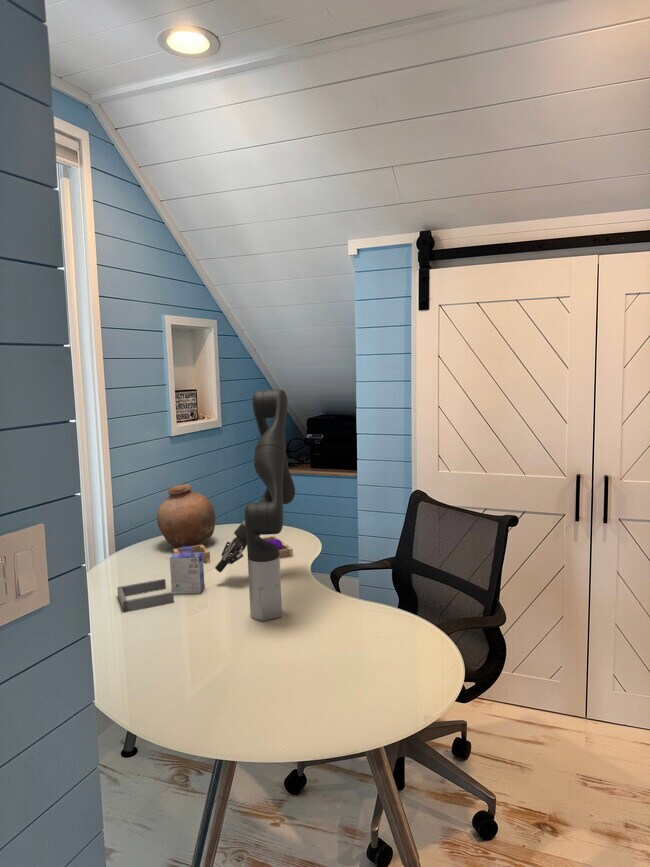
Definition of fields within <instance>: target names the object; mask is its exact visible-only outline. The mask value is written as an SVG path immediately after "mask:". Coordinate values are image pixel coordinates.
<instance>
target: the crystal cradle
mask: <svg viewBox="0 0 650 867" xmlns="http://www.w3.org/2000/svg"><path fill="white" fill-rule="evenodd" d="M261 538H262V539H263V540H270V539H279V538H278V537H276V536H275V535H271V536H265V537H261ZM280 541H281V543H282V549H281V550H279V553H280V559H283V558H284V557H285V558H292V556H293V557H294V555H293V554H294V551H293V550H294V549H293V548H292V547H291V546H289V545H288V544H286V543H285V542H283V541H282V540H280ZM285 558H284V559H285Z"/></svg>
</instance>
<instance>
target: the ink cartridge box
mask: <svg viewBox="0 0 650 867" xmlns="http://www.w3.org/2000/svg"><path fill="white" fill-rule="evenodd" d="M184 549H190V551H183V550H184ZM169 571H170V584H171V585H170V586H171V592H173V594H174V595H175V594H176V595H177V594H179V595H180V594H181V595H182V594H185V595H186V594H202V592H203V591H204V590H205V588H206V587H205V571H204V564H203V553H202V552H199V553H192V546H190V547H182V549H181V553H176V554H174V553H173V554H172V555H171V556H170V557H169Z"/></svg>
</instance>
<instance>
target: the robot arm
mask: <svg viewBox="0 0 650 867" xmlns="http://www.w3.org/2000/svg"><path fill="white" fill-rule="evenodd" d="M288 405H289V404H288V396H287V393H286V391H285V390H284V389H281V388H278V389H277V388H276V389H265V390H257V391H255V392H254V393H253V394H252V410H253V414H254V419H255V421H256V422H255V423H256V424H257V429H258V433H259V435H260V438H259V439H258V440H257V442H256V445H255V448H254V458H253V466H254V470H255V472H256V473H257V475H258V476H259V478H260V479H261V481H262V482H263V484H264V485H265V486H266V488H265V490H264V492H263V494H262V496H261V499H260V500H259V502H248V503H247V504H246V506H245V508H244V520H243V521H242V522H241V524H239V526H238V527H237V528H236V529H235V530H234V533H233V534H234V535H235V537H234V538H233V539H232V540H231V541H227V542H226V543H225V546H224V548H223V550H222V553H221V559H220V560H219V562H218V563H217V564H216V565H215V567H214V568H215V570H216V571H217V572H219V573H222V572H223V570H224V569H226V567H227V565H233V564H234V563H235V562H237V561H239V560H240V559H241V558H243V557H244V554H243V552H244V551H245V549H247V550H246V552H247V567H248V569H247V570H248V591H249V592H248V594H249V608H250V609H249V611H250V616H251V618H253V619H255V620H259V621H261V622H265V621H269V620H273V619H274V618H275V619H279V618H282V614H283V608H282V607H283V604H282V583H281V582H282V581H281V560H280V559H281V558H280V553H279V547H278V546H277V545H275V544H273V543H270V542H267V541H265V540H263V539H262V538H263V537H261V535H264V536H266V535H278V534H280V533H281V532H282V530H283V525H284V505H287V504H291V503H292V501H293V500H294V498H295V495H296V487H295V484H294V480H293V478H292V475H291V473H290V470H289V461H288V454H287V451H286V448H285V445H286V444H285V439H286V438H285V432H286V425H287V424H286V422H287V416H288ZM267 419H272V422H271V424H270V426H269V424H268V421H267ZM275 619H274V620H275Z"/></svg>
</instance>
